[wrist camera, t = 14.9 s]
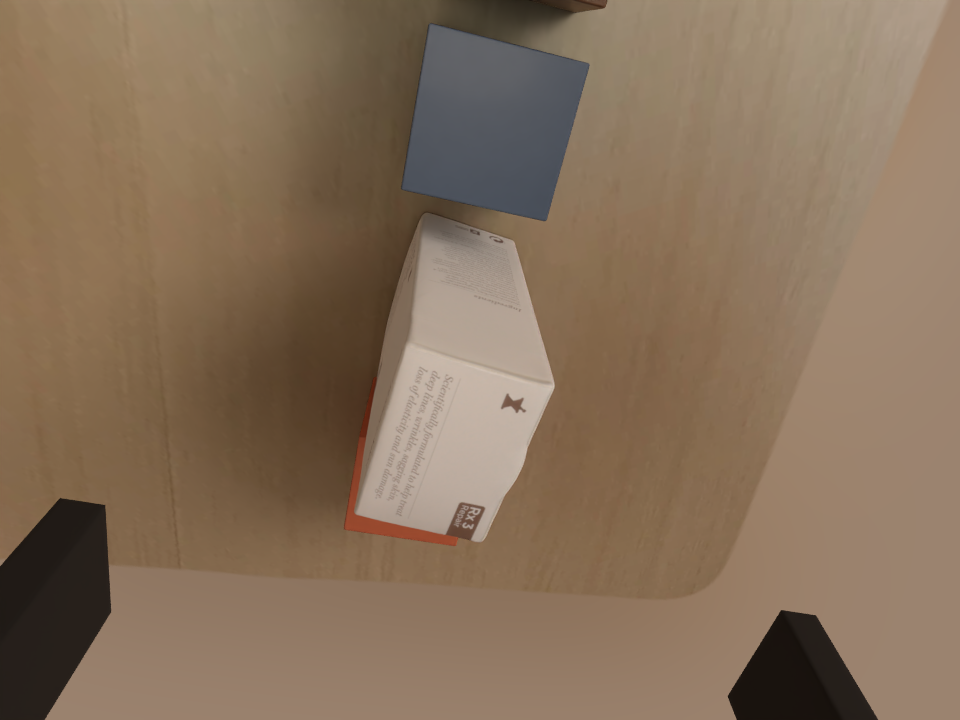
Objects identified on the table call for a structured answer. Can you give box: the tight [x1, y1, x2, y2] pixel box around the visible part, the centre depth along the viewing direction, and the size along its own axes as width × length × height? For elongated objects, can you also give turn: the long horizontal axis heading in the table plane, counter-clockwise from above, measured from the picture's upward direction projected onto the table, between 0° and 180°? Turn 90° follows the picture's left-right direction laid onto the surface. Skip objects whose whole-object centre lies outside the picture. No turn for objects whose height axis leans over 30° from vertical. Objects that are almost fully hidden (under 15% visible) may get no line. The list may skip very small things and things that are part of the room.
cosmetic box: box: [354, 213, 555, 542], centre depth 23 cm, size 6×4×12 cm
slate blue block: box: [401, 23, 589, 221], centre depth 22 cm, size 5×5×5 cm
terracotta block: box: [344, 377, 458, 546], centre depth 29 cm, size 5×5×5 cm
